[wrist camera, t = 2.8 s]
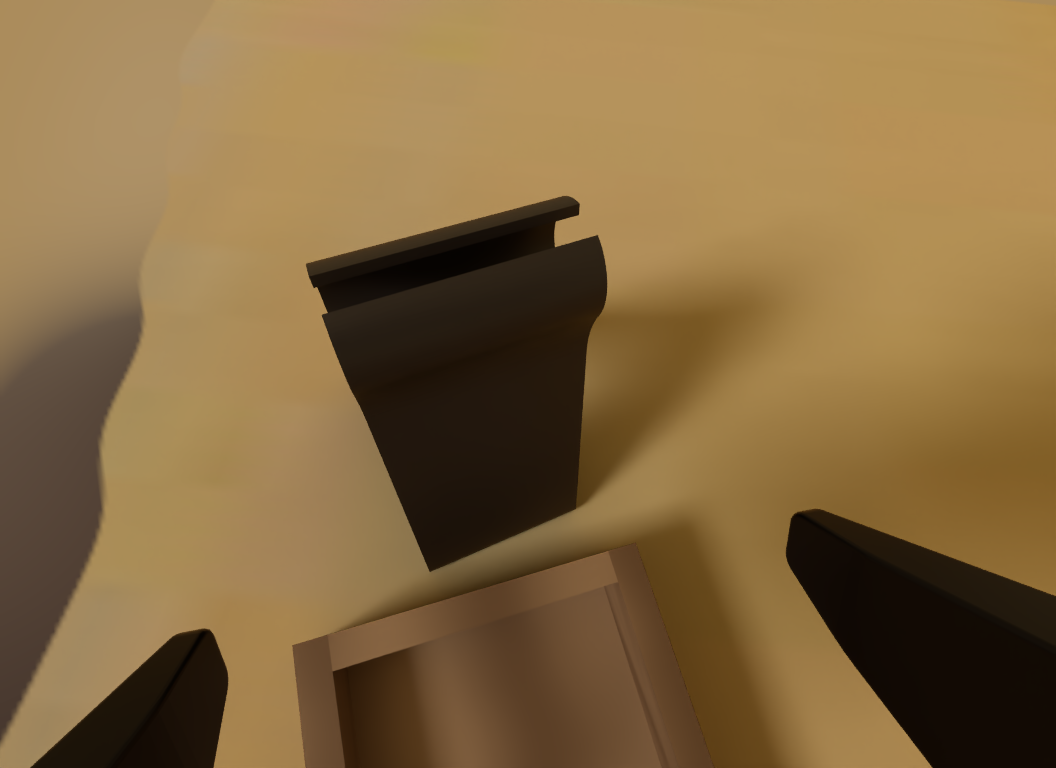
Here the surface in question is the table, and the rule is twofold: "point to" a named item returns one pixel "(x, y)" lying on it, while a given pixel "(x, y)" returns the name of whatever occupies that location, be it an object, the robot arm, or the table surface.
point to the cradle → (506, 679)
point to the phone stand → (471, 368)
